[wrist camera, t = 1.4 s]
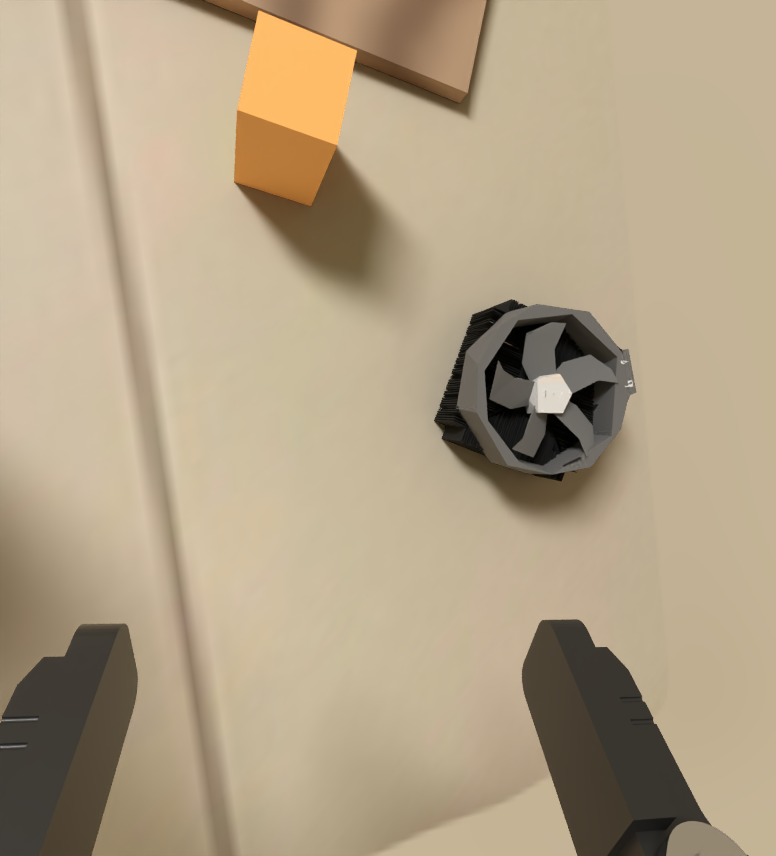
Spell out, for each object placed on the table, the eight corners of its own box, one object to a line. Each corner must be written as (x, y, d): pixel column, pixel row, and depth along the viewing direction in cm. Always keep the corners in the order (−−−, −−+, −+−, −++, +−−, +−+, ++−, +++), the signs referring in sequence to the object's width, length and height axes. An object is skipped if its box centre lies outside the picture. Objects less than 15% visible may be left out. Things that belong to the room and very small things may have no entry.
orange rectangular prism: (234, 182, 32) (237, 109, 24) (250, 106, 32) (258, 10, 24) (311, 206, 33) (337, 145, 25) (326, 133, 33) (357, 50, 26)
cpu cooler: (451, 442, 30) (513, 271, 31) (416, 437, 36) (469, 291, 36) (602, 502, 33) (655, 344, 34) (548, 489, 39) (595, 353, 39)
